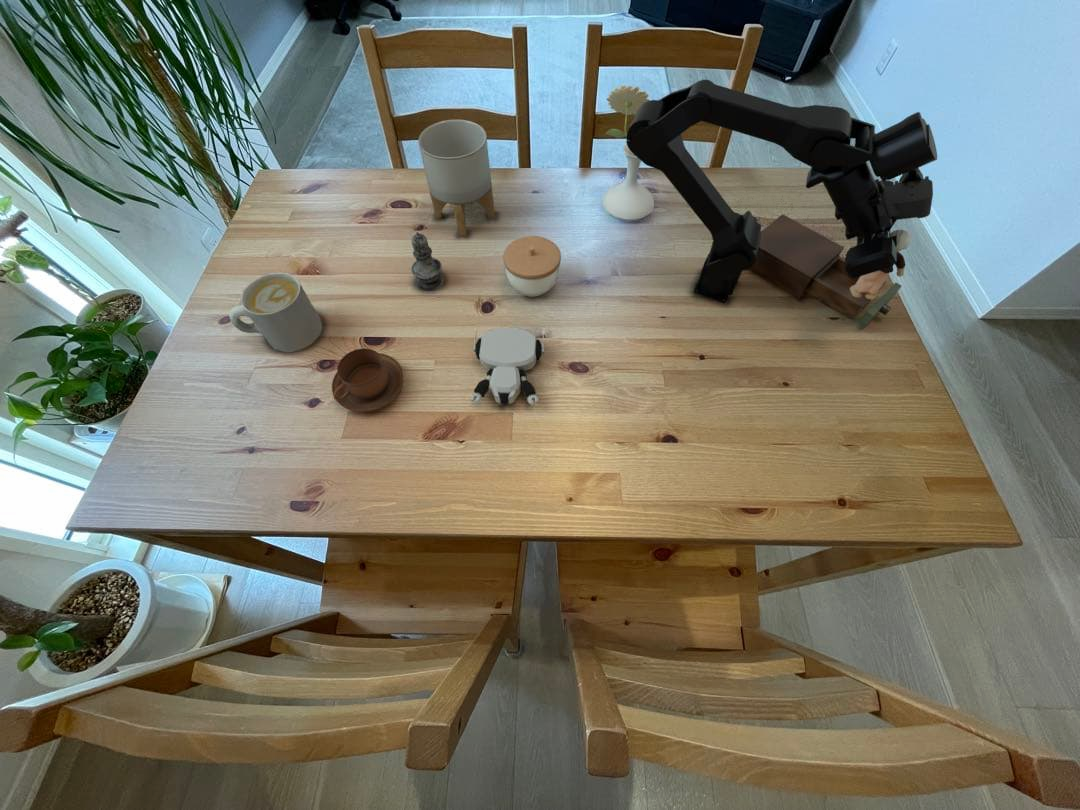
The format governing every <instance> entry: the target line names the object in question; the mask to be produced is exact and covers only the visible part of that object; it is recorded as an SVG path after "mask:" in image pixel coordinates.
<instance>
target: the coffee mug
mask: <svg viewBox="0 0 1080 810" xmlns="http://www.w3.org/2000/svg"><path fill="white" fill-rule="evenodd" d="M240 317H246V318H248V319H250V320H251V321H252V323H247V322H244V321H243V320H241V318H240ZM229 319H230V322H231V324H232V325H233V326H234V327H235V328H236V329H237V330H239V331H240V332H243V333H247V334H261V335H262V336H263V337H264V338H265V339H266V341H267V342H268V344H269V345H270V346H271V347H272V348H273V349H274V350H276V351H279V352H282V353H283V352H284V353H293V352H298V351H301V350H303V349H306V348H308V347H310V346H311V345H312V344H314V342H316V341H317V339H318V338H319V337H320V335H321V333H322V330H323V322H322V319H321V318H320V316H319V314H318V312H317V311H316V309H315V307H314V306H313V304H312V302H311V300H310V298H309V297H308V295H307V293H306V291H305V289H304V288H303V286H302V284H301V283H300V281H299V279H297V277H295V275H293V274H291V273H287V272H280V271H279V272H276V271H275V272H270V273H267V274H263V275H261V276H258V277H257V278H255V279H253V280H252V281H250V282H249V283H248V284H247V285H246V286H245V287H244V288H243V290H242V292H241V295H240V305H236V306H234V307H233V308H231V309H230V312H229Z"/></svg>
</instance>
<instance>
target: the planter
mask: <svg viewBox="0 0 1080 810" xmlns="http://www.w3.org/2000/svg"><path fill="white" fill-rule="evenodd" d="M487 138H488V137H487V132H486V130H485V129H484V127H482V126H481V125H479V123H476V122H475V121H474V122H473V121H470V120H467V119H446V120H442V121H438V122H436V123H433V124H431V125H429V126H427V127H426V128H424V129H423V130H422V131H421V133H420V134H419V137H418V140H417V141H418V148H419V151H420V156H421V161H422V165H423V169H424V174H425V178H426V182H427V187H428V190H429V195H430V200H431V203H432V208H433V213H434V218H435V220H442V218H443V209H444V208H445V206H446V205H452V206H453V211H454V216H455V221H456V228H457V232H458V237H467V224H466V205H469V204H472V203H474V202H475V203H476V204H478V205H480V206H481V207H482V208H483V209H484V210H485V212H486V214H487V216H488V220H495V218H496V210H495V202H494V201H495V200H494V192H493V183H492V174H491V165H490V156H489V147H488V139H487Z"/></svg>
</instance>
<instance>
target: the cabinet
mask: <svg viewBox="0 0 1080 810" xmlns="http://www.w3.org/2000/svg"><path fill="white" fill-rule="evenodd" d="M760 231H761V239H760V244H759V249H758V253H757V258H756V261H755V264H754V265H753V266H752V267H751V268H749V269H748V270H750V271H752V272H753V273H755V274H756V275H758V276H759V277H761V278H763V279H764V280H766V281H768V282H769V283H771V284H772V285H775V287H778V288H780V289H781V290H783V291H784V292H786V293H788V294H789V295H791V296H793V297H795V298H796V299H798V300H800V299H801V298H802V297H803V296H804V295H805V294H807V292H806V291H805V289H806V288H807V286H808V284H809V283H810V281H811V279H812V278H813V277H814V276H815V275H816V274H817V273H819V272H820V271H821V270H822V269H823V268H824V267H825V266H826V265H827V264H828V263H829V262H831V261H832V260H833V259H834V258H835V257H836V256H837V255H839V256H841V254H842V252H843V250H844V249H845V246H843V245H842V244H839V243H837V242H835V241H834V240H831V239H830V238H828V237H826V236H824V235H822V234H821V233H818V232H816V231H815V230H814V229H811V228H809V227H807V226H805V225H803V224H802V223H800V222H798V221H797V220H794V219H793V218H791V217H788V216H787V215H785V214H780V216H777V218H776V219H774V221H772V222H771V223H769V225H767V226H766V227H765V228H763V229H761V230H760Z"/></svg>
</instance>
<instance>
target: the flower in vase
mask: <svg viewBox="0 0 1080 810" xmlns="http://www.w3.org/2000/svg"><path fill="white" fill-rule="evenodd" d="M649 96H650V95H649V93H647V91H645V90H640V86H637V85H636V86H634V87H633V86H632V85H627V86H626V85H624V84H622V85H620V88H618V87H615V88H614V89H613V90H610V93H609V94H608V97H606V101H607V102H608V105H609V106H610V109H612V110H614V111H615V112H616V113H621V114H622V115H625V119H624V129H623V130H624V131H622V130H621V129H619V128H611V129H609V130H607V131H606V132H605V133H604V135H606V136H612V137H614V138H617V139H622V138H623V137H625V138H627V132H628V131H627V123H628V116H632V115H636V113H637V111H638V109H639V108H640V107H641V105H642V104H644V103H645V102H647V101H650V99H649V98H648V97H649ZM622 152H623V154H624V155H625V157H626V162H627V164H626V165H627V166H626V167H627V169H626V176H625V179H624V181H622V182H619V183H616V184H614V185H613V186H611V187H610V188H608V189H607V190H606V191H605V192H604V194H603V196H602V197H601V206H602V209H603V210H604V211H605V212H606V213H607V214H608V215H609V216H611V217H612V218H615V219H617V220H621V221H629V222H630V221H638V220H641V219H644V218H645V217H647V216H648V215H649V214H650V213H652V211H653V210H654V207H655V201H654V196H653V195H652V193H651V192H650V191H649V190H648V189H647V188H646V187H645V186H643V185H641V184H640V183H639V182H638V173H639V169H640V165H641V164H642V161H641V160H640V159H639V158H638V157H636V156H635V155H634V154H633V153H632V152H631V151H630V150H629V148H628V146H627V143H626V144H624V146H623V147H622Z"/></svg>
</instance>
